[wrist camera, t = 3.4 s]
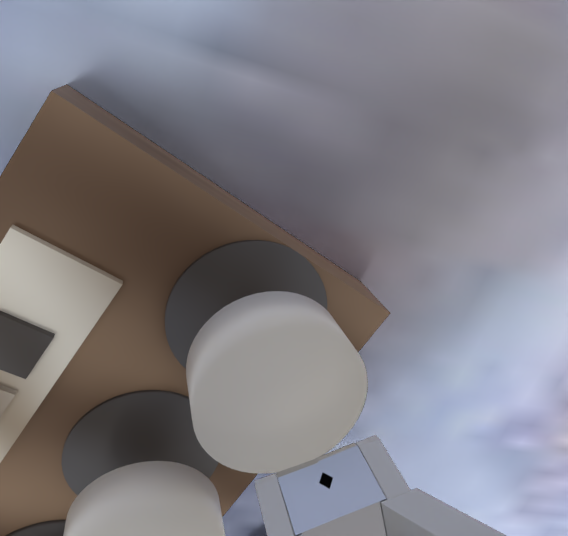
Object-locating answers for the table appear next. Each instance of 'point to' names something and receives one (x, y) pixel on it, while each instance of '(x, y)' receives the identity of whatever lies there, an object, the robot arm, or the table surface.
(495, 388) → the table surface
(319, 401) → the outer button
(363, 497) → the robot arm
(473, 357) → the table surface
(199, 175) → the button board
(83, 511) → the middle button
